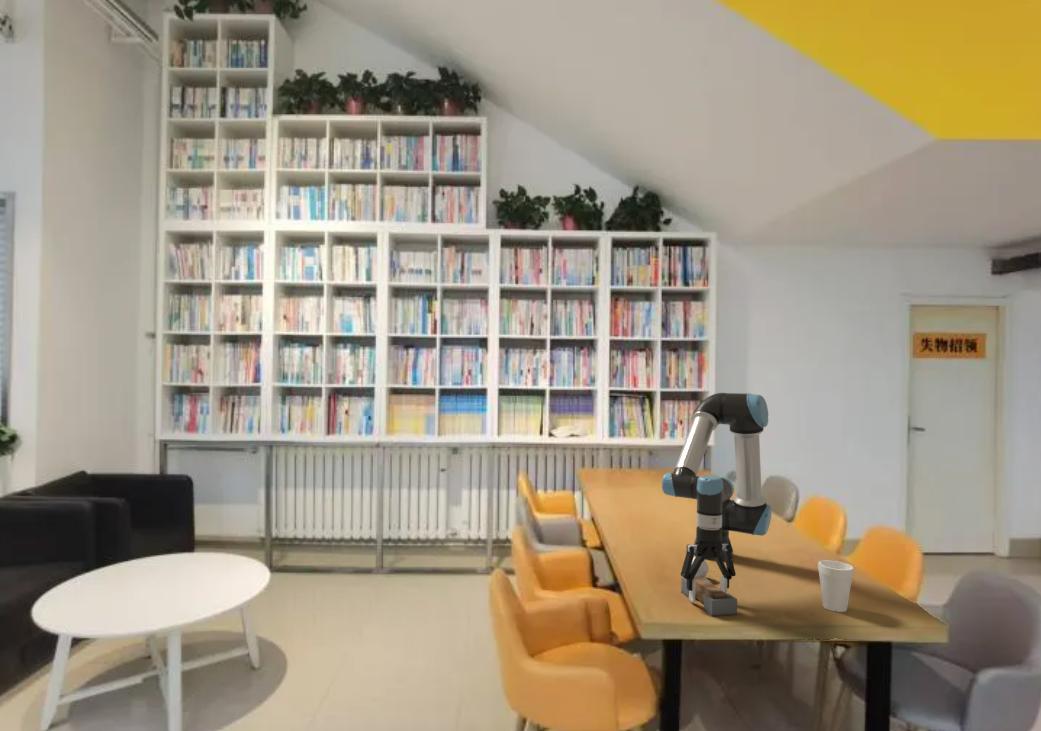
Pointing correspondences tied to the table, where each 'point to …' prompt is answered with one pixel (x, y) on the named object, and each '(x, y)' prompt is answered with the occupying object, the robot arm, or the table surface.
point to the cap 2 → (720, 605)
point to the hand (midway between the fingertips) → (707, 599)
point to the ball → (702, 569)
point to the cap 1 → (684, 586)
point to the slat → (707, 590)
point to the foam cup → (835, 584)
